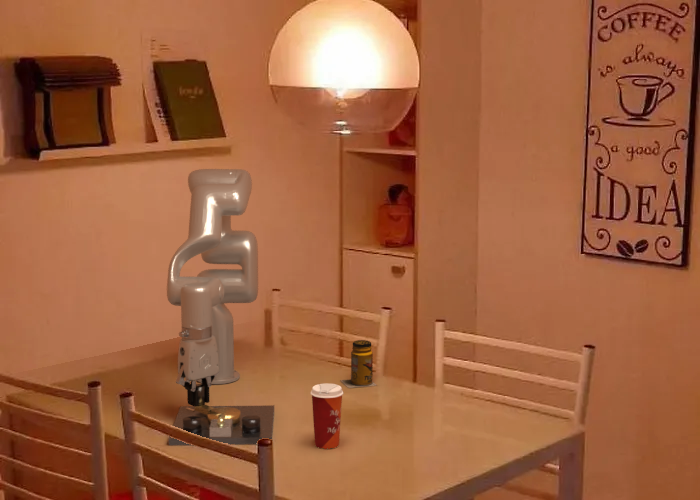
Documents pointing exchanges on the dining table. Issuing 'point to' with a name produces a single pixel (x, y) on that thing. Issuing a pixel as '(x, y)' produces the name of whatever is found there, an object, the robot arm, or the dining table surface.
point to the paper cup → (327, 414)
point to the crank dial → (214, 412)
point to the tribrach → (227, 425)
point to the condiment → (361, 365)
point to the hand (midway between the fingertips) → (198, 402)
